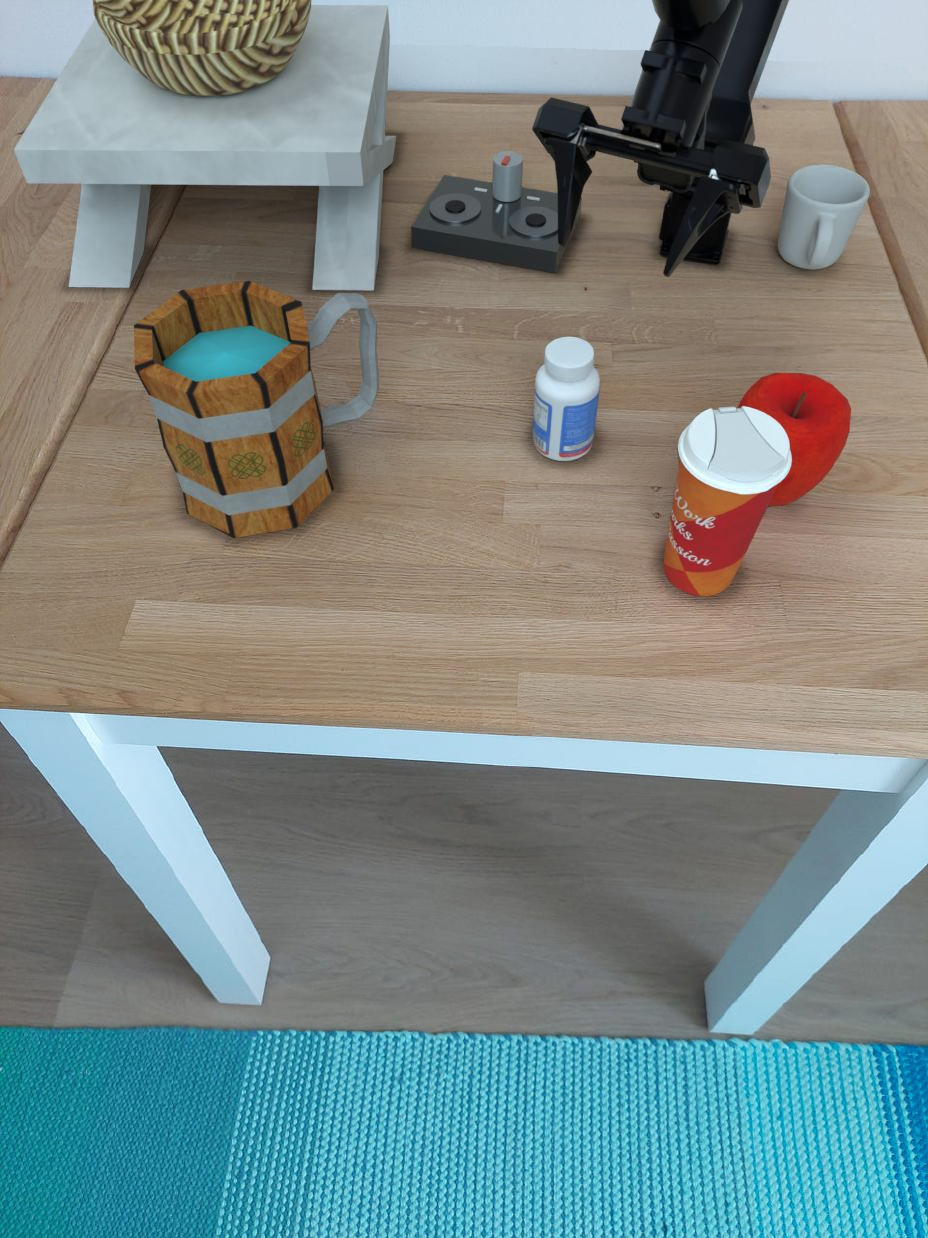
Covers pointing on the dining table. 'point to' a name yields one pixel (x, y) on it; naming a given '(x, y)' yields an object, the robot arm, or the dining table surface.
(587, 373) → the pill bottle
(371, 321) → the mug
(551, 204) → the hob
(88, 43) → the grey stone stand
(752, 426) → the paper cup
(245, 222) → the dining table surface
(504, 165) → the hob knob
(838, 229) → the cup
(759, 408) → the apple
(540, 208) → the burners
